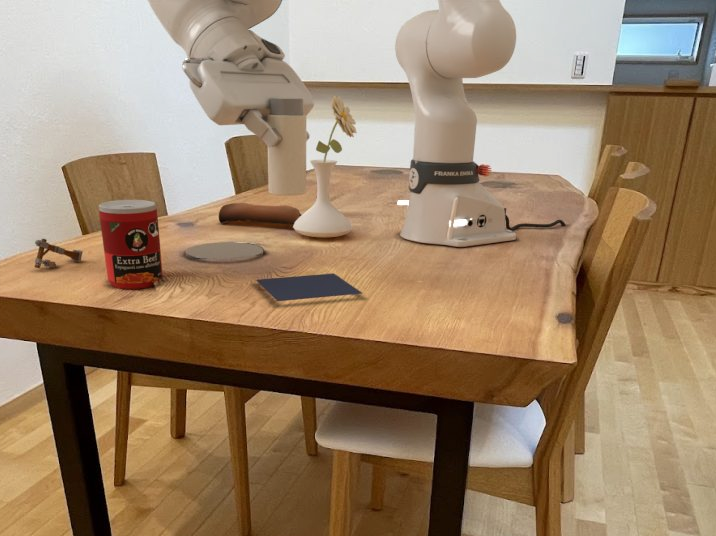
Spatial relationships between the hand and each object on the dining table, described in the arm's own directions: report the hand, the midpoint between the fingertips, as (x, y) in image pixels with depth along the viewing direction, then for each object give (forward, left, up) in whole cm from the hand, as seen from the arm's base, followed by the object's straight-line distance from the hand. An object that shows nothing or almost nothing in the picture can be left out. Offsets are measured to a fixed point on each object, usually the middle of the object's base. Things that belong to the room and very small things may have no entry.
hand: (290, 142), depth 88 cm
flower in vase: (-17, -31, -19) cm, 41 cm away
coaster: (+5, -21, -19) cm, 29 cm away
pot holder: (-1, +5, -19) cm, 20 cm away
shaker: (0, -1, -7) cm, 7 cm away
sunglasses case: (-9, -45, -19) cm, 50 cm away
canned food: (+21, -7, -19) cm, 30 cm away
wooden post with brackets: (+31, -20, -19) cm, 42 cm away
